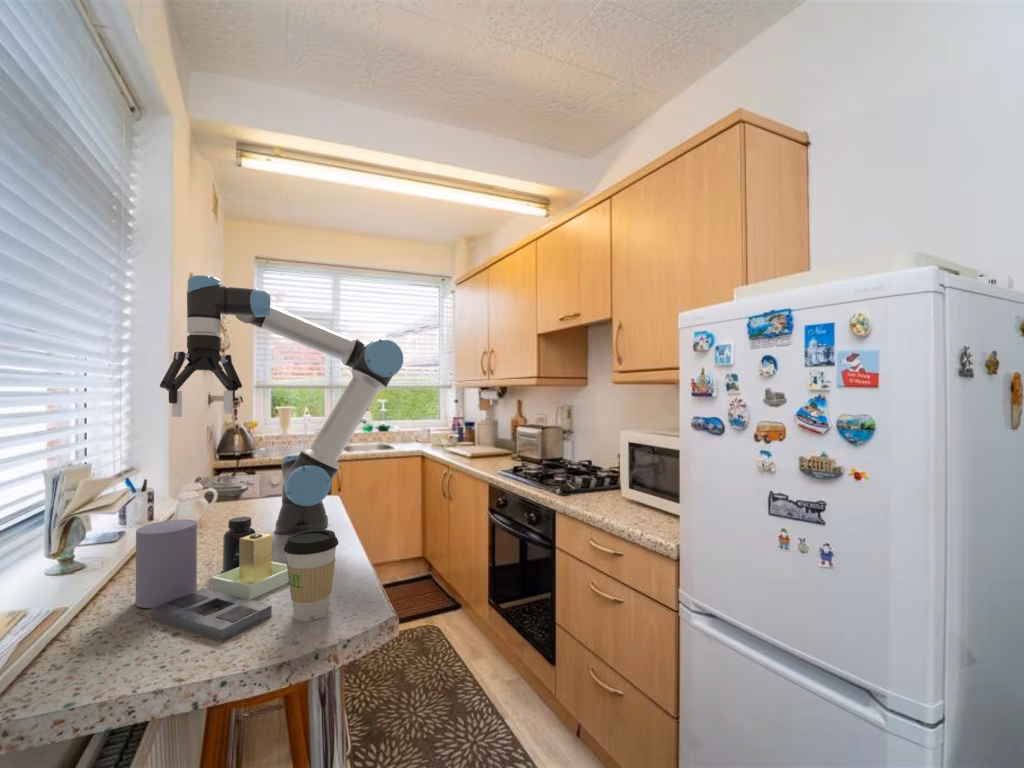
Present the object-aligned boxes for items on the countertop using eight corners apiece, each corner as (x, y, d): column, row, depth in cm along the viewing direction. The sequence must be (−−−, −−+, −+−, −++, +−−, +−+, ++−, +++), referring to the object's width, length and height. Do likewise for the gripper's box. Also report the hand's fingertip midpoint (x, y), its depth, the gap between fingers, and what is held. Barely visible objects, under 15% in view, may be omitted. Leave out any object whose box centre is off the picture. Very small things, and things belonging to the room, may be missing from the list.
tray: (260, 570, 113) (260, 558, 113) (297, 578, 108) (297, 566, 108) (211, 590, 102) (211, 577, 102) (249, 600, 97) (249, 586, 97)
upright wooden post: (257, 576, 108) (257, 531, 108) (271, 579, 106) (271, 534, 106) (239, 583, 104) (239, 537, 104) (253, 587, 102) (253, 540, 102)
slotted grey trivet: (203, 597, 98) (203, 587, 98) (271, 615, 90) (271, 604, 90) (150, 619, 89) (150, 608, 89) (221, 641, 81) (221, 629, 81)
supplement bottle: (240, 575, 110) (240, 523, 110) (215, 572, 112) (215, 522, 112) (261, 564, 117) (261, 516, 117) (238, 562, 118) (238, 514, 118)
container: (205, 586, 104) (206, 518, 104) (181, 607, 94) (181, 532, 94) (153, 589, 102) (154, 520, 103) (123, 611, 92) (123, 535, 92)
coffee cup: (298, 601, 96) (299, 528, 97) (346, 602, 96) (346, 528, 96) (273, 625, 87) (273, 544, 87) (325, 626, 86) (325, 544, 86)
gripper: (238, 340, 138) (237, 412, 137) (143, 330, 115) (142, 417, 115) (256, 339, 135) (255, 413, 134) (162, 329, 112) (161, 418, 112)
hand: (203, 415), depth 125 cm, fingers open, 13 cm apart
